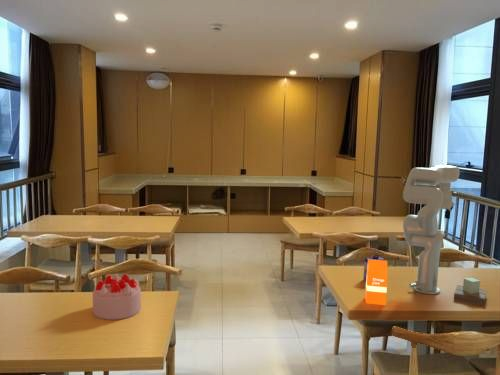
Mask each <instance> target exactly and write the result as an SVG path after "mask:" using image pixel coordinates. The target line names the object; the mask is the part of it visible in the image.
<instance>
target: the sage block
mask: <svg viewBox="0 0 500 375" xmlns="http://www.w3.org/2000/svg"><path fill="white" fill-rule="evenodd" d="M462 286H463V291H465V292H468V293H470V294H474V293H479V289H481V288H480V286H481V280H479V279H476V278H473V277H466V278H465V277H464V278H463V284H462Z"/></svg>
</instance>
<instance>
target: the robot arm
mask: <svg viewBox="0 0 500 375" xmlns="http://www.w3.org/2000/svg"><path fill="white" fill-rule="evenodd" d="M459 177H460V169H459V167H458V166H454V165H448V164H447V165H445V164H436V165H432V167H413V168H412V169H411V170H410V172H409V174H408V176H407V179H406V182H405V185H404V188H403V191H402V199H403V200H404V202H406V203H409V204H417V205H418V204H419V205H424V206H423V207H421V209H419V210H418V212H417V213H416V214H407V215H406V216H405V218H404V220H403V221H402V222H403V223H402V228H403V234H404V239H405V241H406V243H407V245H409V246H414V247H421V248H424V249H423V250H422V251H421V252H420V254H419V255H418V265H417V266H418V267H417V277H416V278H417V280H415V281H414V283H409V285H408V286H409V288H413V290H414V291H415V292H418V293H421V294H425V295H438V294H440V293H441V289H440V288H439V287H438V281H439V280H438V277H439V266H440V265H439V264H440V255H441V249H442V245H443V242H444V241H443V240H444V235H443V233H442V232H441V231H439V224H438V223H439V222H438V215H439V212H440V211H441V210H445V211H444V219H448V220H450V219H451V212H452V210H453V209H454V206H455V203H454V202H453V194H452V190H451V184H452V183H454V182H457V181H458V179H459Z"/></svg>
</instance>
